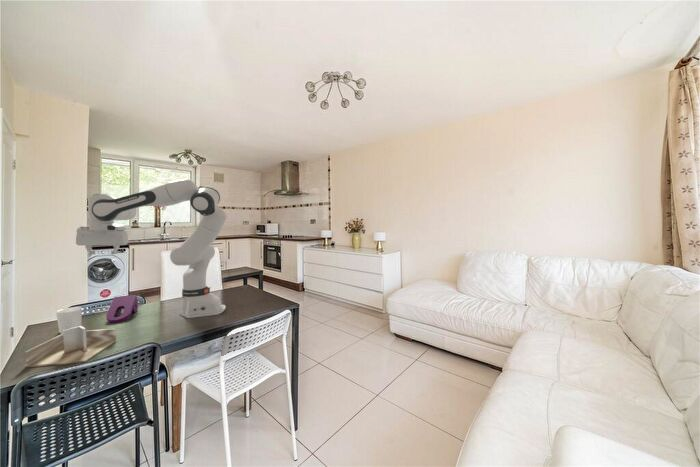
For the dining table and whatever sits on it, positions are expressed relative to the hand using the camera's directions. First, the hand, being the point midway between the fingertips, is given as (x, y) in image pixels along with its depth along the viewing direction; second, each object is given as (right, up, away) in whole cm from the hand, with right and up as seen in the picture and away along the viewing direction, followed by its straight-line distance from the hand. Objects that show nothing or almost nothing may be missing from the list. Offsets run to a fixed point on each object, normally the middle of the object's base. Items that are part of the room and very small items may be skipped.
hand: (103, 254), depth 124 cm
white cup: (-9, -36, -7) cm, 37 cm away
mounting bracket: (0, -35, +10) cm, 36 cm away
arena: (+15, -37, -26) cm, 47 cm away
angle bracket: (+15, -36, -26) cm, 47 cm away
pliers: (-16, -34, +22) cm, 44 cm away
